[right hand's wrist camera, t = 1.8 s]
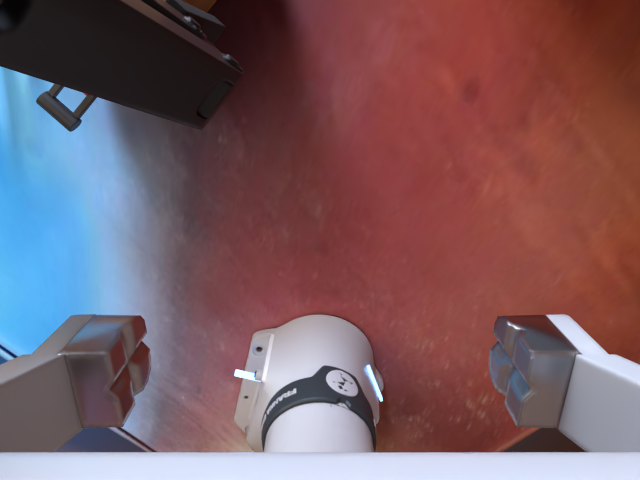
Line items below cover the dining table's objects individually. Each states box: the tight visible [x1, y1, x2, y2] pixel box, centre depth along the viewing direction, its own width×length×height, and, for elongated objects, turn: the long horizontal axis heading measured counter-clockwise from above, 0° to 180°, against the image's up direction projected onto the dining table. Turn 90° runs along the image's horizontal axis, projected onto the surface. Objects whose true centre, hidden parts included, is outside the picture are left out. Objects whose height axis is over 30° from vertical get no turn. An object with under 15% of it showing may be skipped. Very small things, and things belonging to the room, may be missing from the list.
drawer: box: [36, 84, 97, 132], centre depth 39 cm, size 22×5×9 cm, turn 134°
